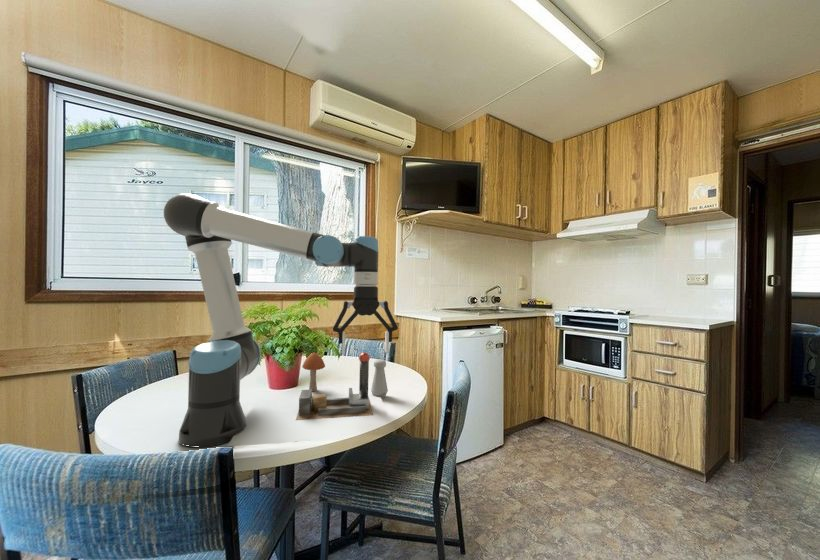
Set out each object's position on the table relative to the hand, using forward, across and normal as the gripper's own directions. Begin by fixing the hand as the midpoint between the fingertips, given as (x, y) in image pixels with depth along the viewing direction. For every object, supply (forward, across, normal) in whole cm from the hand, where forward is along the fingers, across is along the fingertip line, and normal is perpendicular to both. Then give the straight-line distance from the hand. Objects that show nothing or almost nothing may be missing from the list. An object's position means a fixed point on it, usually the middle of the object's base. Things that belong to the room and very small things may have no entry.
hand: (365, 353), depth 106 cm
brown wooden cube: (+17, -14, 0) cm, 22 cm away
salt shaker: (+18, +6, +12) cm, 23 cm away
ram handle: (+16, -2, 0) cm, 17 cm away
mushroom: (+18, -17, +19) cm, 31 cm away
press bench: (+18, -9, 0) cm, 20 cm away
